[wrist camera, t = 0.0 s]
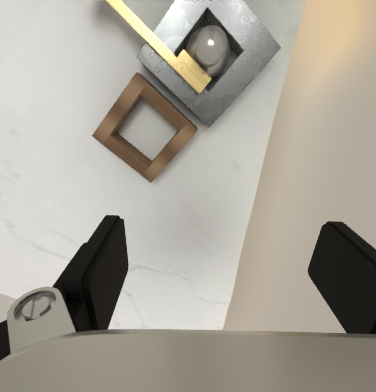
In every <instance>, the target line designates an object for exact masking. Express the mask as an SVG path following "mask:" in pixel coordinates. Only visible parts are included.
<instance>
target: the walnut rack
mask: <svg viewBox="0 0 376 392" xmlns="http://www.w3.org/2000/svg"><path fill="white" fill-rule="evenodd" d="M141 97H143V98H144V99H145V100H147V101H148V102H149V103H150V104H151V105H152V106H153V107H154V108H155V109H156V110H158V111H159V112H160V113H161V114H162V115H163V116H164V117H165V118H166V119H167V120H168V121H170V122H171V123H172V124H173V125H174V126H175V127H176V128H177V129H178V130H179V131H178V132H177V133H176V134H175V135H174V136H173V138H172V139H171V140H170V141H169V142H168V143H167V145H166V146H165V147H164V148H163V149H162V151H161V152H160V153H159V154H158V155H157V156H156V158H155V159H154V160H153V161H151V160H150V159H149V158H147V157H146V156H145V155H144V154H143V153H141V152H140V151H139V150H138V149H137V148H135V147H134V146H133V145H132V144H130V143H129V142H128V141H127V140H126V139H124V138H123V137H122V136H121V135H120V134H118V133H117V132H116V131H117V130H118V128H119V127H120V125H121V124H122V123H123V121H124V120H125V119H126V117H127V116H128V115H129V113H130V112H131V111H132V109H133V108H134V106H135V105H136V104H137V102H138V101H139V100H140V98H141ZM197 130H198V129H197V126H196V125H194V124H193V123H192V122H191V121H190V120H189V119H188V118H187V117H186V116H185V115H184V114H183V113H182V112H181V111H180V110H179V109H178V108H176V107H175V106H174V105H173V104H172V103H171V102H170V101H169V100H168V99H167V98H166V97H165V96H164V95H163V94H162V93H161V92H159V91H158V90H157V89H156V88H155V87H154V86H153V85H152V84H151V83H150V82H149V81H148V80H147V79H146V78H145V77H144V76H143V75H141V74H139V73H137V72H136V74H135V75H134V77H133V78H132V79H131V81H130V82H129V84H128V85H127V87H126V88H125V89H124V91H123V92H122V94H121V95H120V97H119V98H118V99H117V101H116V102H115V104H114V105H113V107H112V108H111V109H110V111H109V112H108V114H107V115H106V117H105V118H104V119H103V121H102V122H101V124H100V125H99V127H98V128H97V130H96V131H95V132H94V134H93V135H92V136H93V137H94V138H95V139H97V140H98V141H99V142H100V143H102V144H103V145H104V146H105V147H107V148H108V149H109V150H110V151H112V152H113V153H114V154H116V155H117V156H118V157H119V158H121V159H122V160H123V161H124V162H126V163H127V164H128V165H129V166H131V167H132V168H133V169H135V170H136V171H137V172H138V173H140V174H141V175H142V176H143V177H145V178H146V179H147V180H148V181H150V182H152V181H153V180H154V179H155V178H156V177H157V175H158V174H159V173H160V172H161V171H162V170H163V169H164V168H165V166H166V165H167V164H168V163H169V162H170V161H171V160H172V159H173V157H174V156H175V155H176V154H177V153H178V152H179V151H180V149H181V148H182V147H183V146H184V145H185V144H186V143H187V142H188V140H189V139H190V138H191V137H192V136H193V135H194V134H195V133H196V131H197Z"/></svg>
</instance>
